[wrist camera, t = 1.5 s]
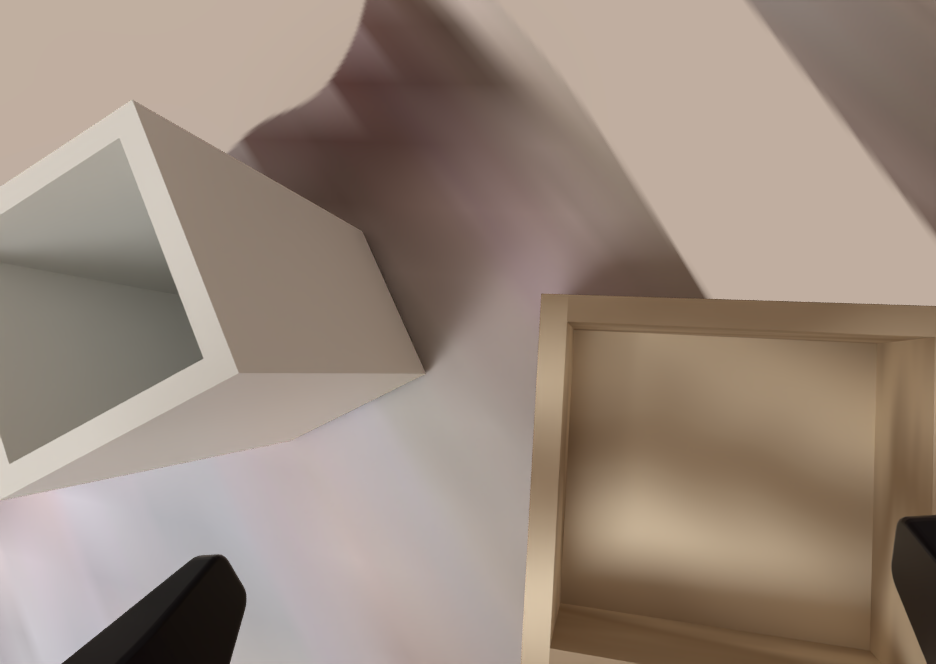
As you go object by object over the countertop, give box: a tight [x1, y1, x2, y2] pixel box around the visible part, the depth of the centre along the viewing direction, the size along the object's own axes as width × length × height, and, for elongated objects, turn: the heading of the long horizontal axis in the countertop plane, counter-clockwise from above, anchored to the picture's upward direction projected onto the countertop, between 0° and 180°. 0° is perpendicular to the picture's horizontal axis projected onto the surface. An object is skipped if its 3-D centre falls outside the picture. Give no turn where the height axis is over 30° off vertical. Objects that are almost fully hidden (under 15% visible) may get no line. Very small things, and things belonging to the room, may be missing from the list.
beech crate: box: [521, 294, 936, 664], centre depth 18 cm, size 11×11×4 cm
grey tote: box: [0, 100, 426, 501], centre depth 19 cm, size 6×6×12 cm
